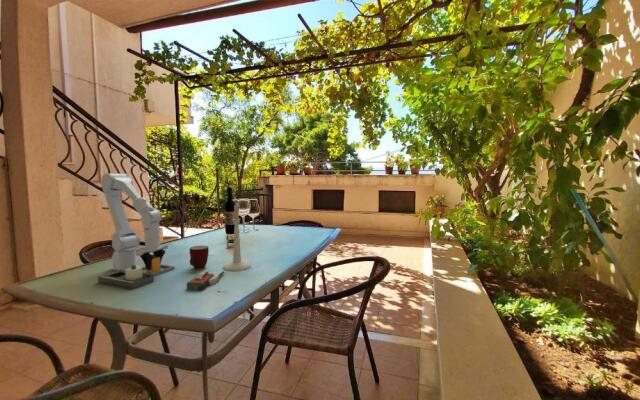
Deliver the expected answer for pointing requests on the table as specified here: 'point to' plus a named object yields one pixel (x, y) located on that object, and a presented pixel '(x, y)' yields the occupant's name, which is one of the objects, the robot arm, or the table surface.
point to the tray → (163, 269)
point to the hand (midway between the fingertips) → (153, 268)
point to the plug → (155, 265)
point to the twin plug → (133, 273)
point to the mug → (198, 256)
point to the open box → (124, 280)
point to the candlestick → (236, 248)
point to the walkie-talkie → (202, 281)
